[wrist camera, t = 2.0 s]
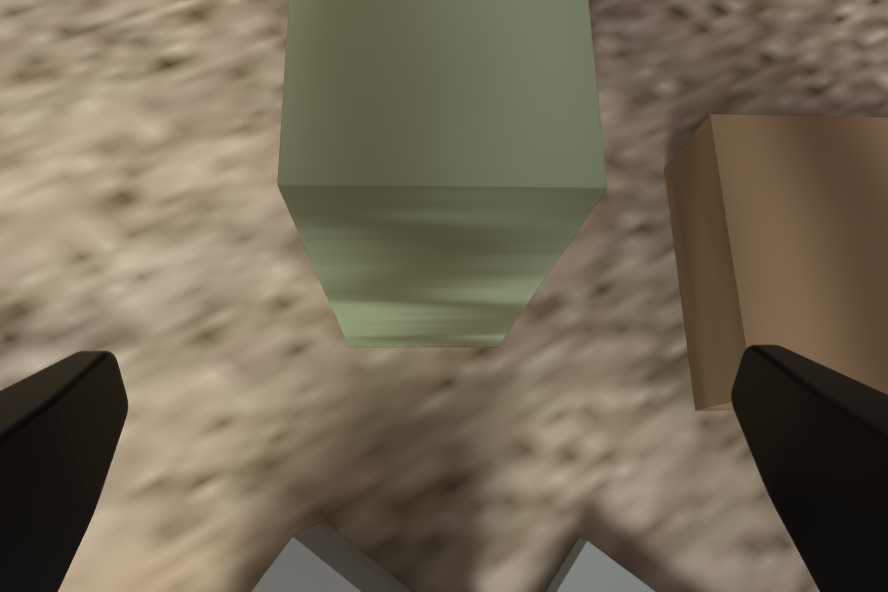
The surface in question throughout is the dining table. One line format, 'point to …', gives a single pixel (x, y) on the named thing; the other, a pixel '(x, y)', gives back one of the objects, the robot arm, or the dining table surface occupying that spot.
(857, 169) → the walnut base block
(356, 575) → the charcoal cube
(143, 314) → the dining table surface
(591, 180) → the sage pillar
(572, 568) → the board
